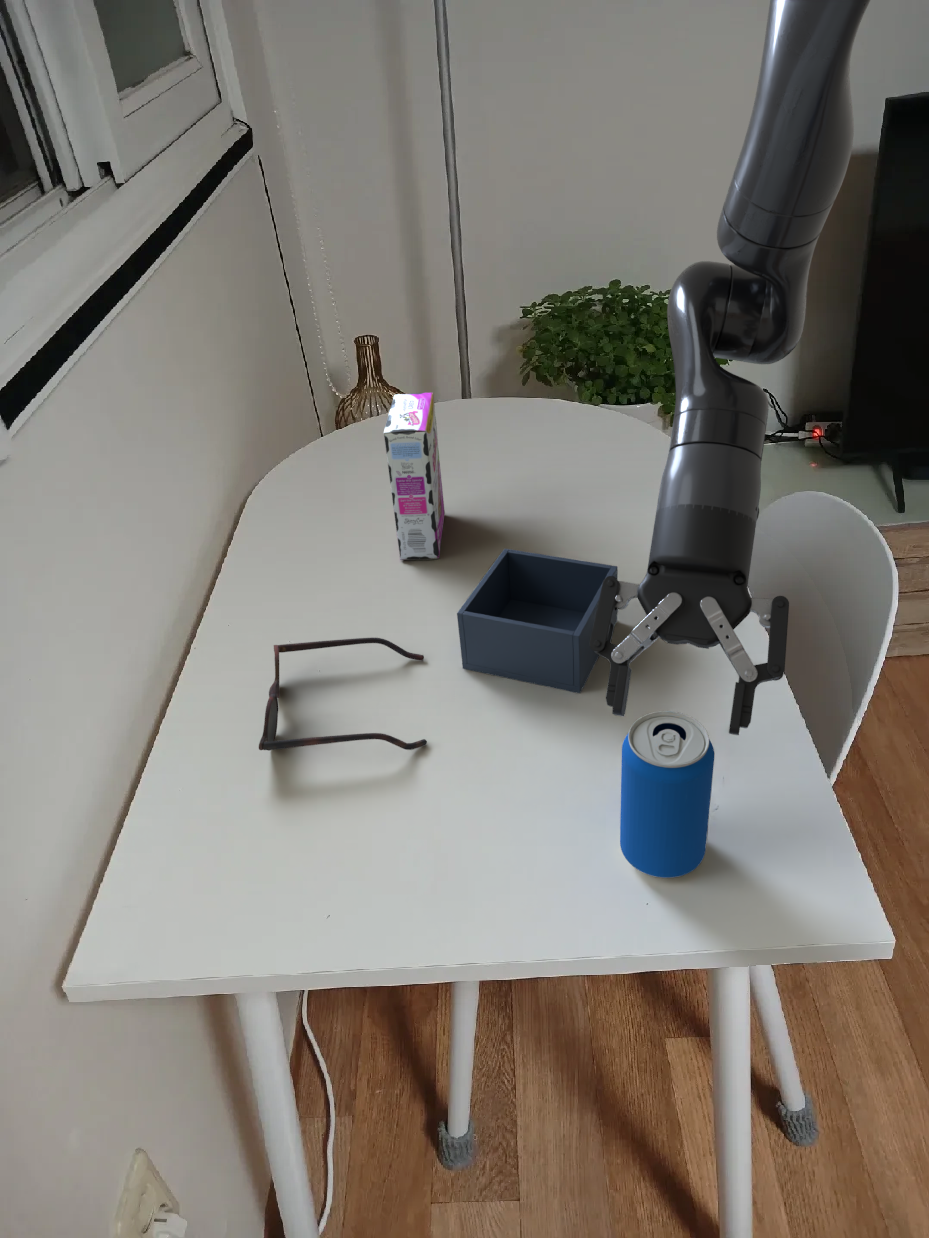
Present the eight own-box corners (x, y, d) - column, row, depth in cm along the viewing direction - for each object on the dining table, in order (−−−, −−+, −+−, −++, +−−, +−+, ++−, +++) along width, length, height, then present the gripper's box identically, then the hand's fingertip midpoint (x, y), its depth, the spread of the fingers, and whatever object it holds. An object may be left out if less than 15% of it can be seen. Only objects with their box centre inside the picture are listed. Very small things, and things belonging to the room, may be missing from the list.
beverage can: (707, 826, 76) (718, 712, 69) (701, 891, 71) (712, 776, 64) (626, 813, 77) (628, 702, 70) (614, 876, 72) (615, 762, 65)
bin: (617, 621, 99) (617, 566, 95) (580, 693, 90) (579, 636, 86) (507, 601, 103) (504, 548, 99) (462, 668, 95) (456, 613, 91)
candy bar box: (442, 560, 111) (427, 430, 102) (399, 562, 112) (380, 433, 102) (447, 513, 120) (434, 389, 111) (408, 515, 121) (391, 392, 111)
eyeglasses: (278, 669, 97) (269, 630, 94) (423, 653, 97) (418, 613, 94) (264, 771, 85) (253, 729, 82) (430, 752, 85) (424, 710, 82)
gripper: (606, 492, 72) (572, 705, 70) (806, 510, 67) (776, 738, 65) (620, 519, 79) (589, 713, 77) (801, 536, 74) (773, 743, 72)
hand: (675, 724), depth 71 cm, fingers open, 8 cm apart
